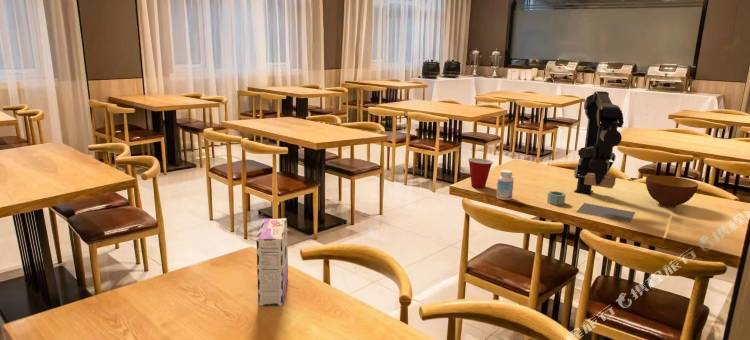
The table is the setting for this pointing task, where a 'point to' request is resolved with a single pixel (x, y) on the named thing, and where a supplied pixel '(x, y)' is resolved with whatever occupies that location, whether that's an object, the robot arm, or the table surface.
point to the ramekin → (556, 198)
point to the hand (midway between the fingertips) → (599, 182)
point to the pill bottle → (505, 185)
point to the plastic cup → (479, 171)
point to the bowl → (670, 190)
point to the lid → (606, 182)
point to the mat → (606, 212)
